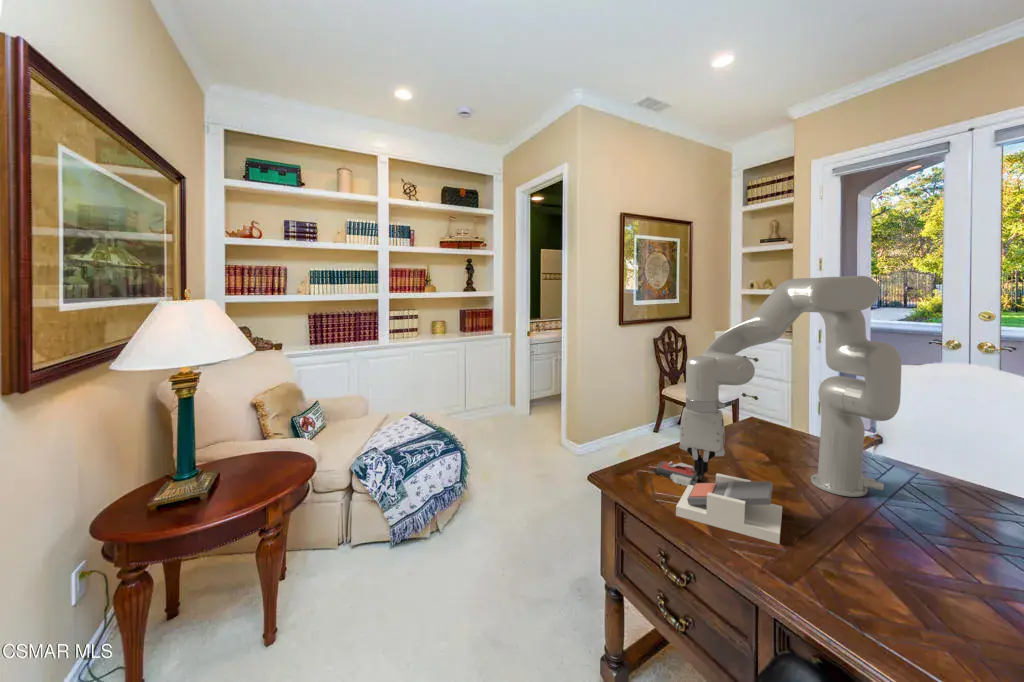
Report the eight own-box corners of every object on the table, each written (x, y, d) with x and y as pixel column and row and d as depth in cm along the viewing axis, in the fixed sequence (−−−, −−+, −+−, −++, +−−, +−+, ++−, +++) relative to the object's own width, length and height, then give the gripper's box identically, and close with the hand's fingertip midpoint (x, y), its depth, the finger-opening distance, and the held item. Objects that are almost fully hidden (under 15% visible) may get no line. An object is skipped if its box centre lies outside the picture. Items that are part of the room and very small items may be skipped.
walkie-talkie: (649, 477, 127) (719, 497, 113) (649, 463, 126) (719, 482, 113) (660, 467, 133) (728, 485, 120) (661, 454, 133) (728, 471, 119)
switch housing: (781, 515, 103) (783, 487, 102) (779, 544, 91) (781, 512, 90) (688, 492, 115) (689, 467, 114) (675, 515, 104) (676, 487, 103)
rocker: (773, 488, 101) (770, 480, 101) (770, 505, 93) (768, 497, 93) (697, 489, 112) (695, 482, 112) (689, 505, 104) (686, 497, 104)
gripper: (737, 405, 103) (735, 474, 105) (674, 398, 111) (674, 462, 114) (733, 413, 97) (731, 486, 99) (667, 405, 105) (667, 473, 108)
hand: (701, 473), depth 106 cm, fingers closed
